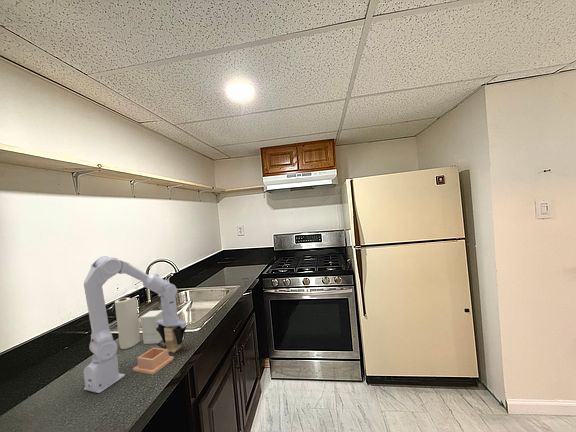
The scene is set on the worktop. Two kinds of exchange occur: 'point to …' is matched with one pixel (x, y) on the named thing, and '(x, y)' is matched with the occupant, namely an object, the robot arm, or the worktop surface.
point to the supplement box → (151, 327)
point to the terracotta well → (153, 361)
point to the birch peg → (171, 339)
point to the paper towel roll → (127, 322)
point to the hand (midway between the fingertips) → (173, 342)
